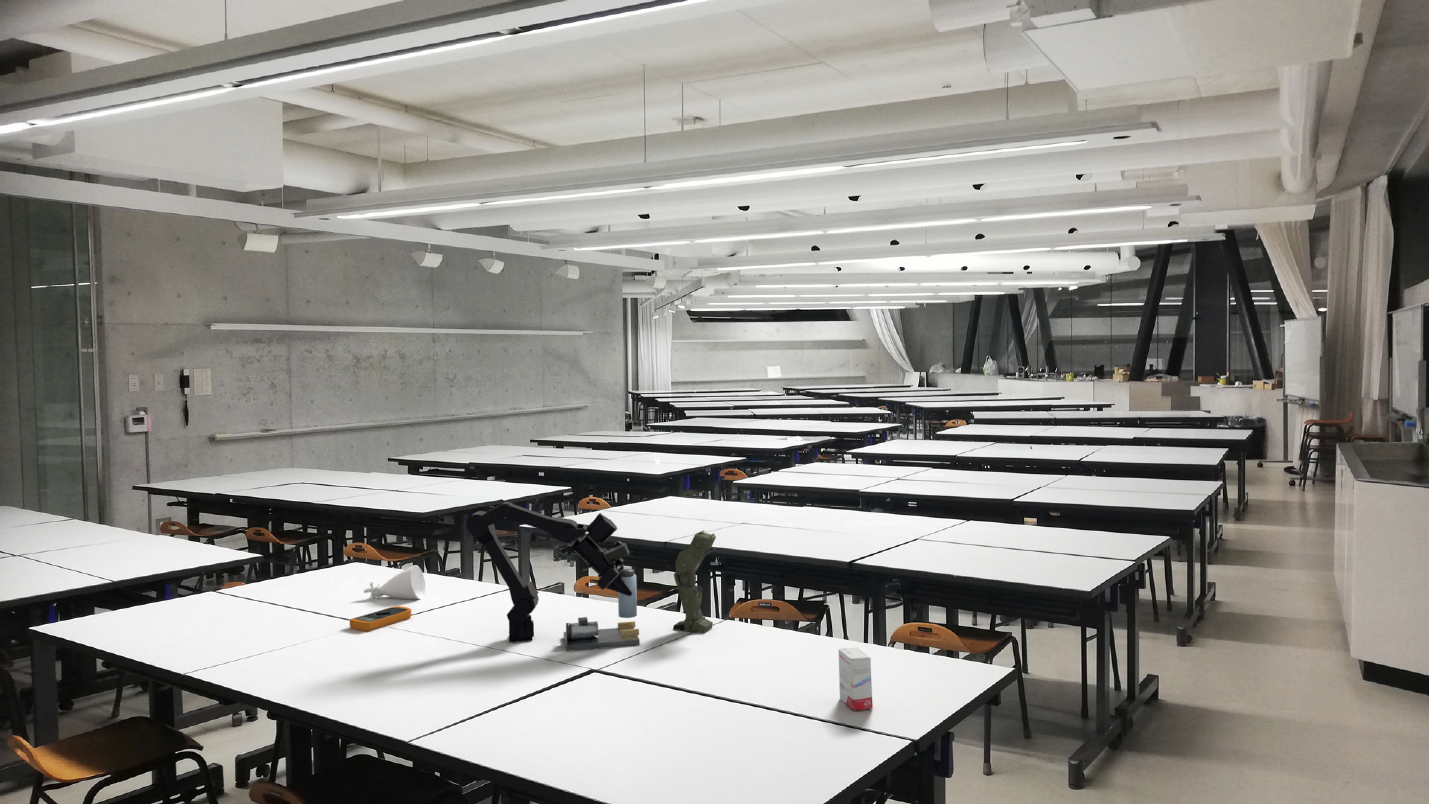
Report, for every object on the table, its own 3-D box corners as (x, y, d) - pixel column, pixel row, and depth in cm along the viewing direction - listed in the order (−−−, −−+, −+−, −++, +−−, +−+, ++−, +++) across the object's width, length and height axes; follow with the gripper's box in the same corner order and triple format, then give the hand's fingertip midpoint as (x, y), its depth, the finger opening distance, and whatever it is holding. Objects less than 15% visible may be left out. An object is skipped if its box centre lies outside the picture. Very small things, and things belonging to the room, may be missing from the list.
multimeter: (415, 618, 290) (414, 607, 290) (367, 633, 274) (366, 622, 274) (396, 615, 294) (395, 604, 294) (347, 629, 279) (347, 618, 278)
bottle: (625, 619, 262) (624, 573, 261) (615, 615, 266) (614, 570, 265) (640, 615, 265) (639, 570, 264) (630, 612, 269) (629, 567, 268)
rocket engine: (360, 571, 313) (411, 559, 313) (376, 586, 322) (426, 574, 322) (357, 602, 306) (410, 589, 305) (373, 616, 315) (424, 604, 315)
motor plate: (566, 651, 253) (566, 625, 253) (563, 637, 266) (563, 613, 266) (641, 644, 258) (640, 619, 257) (634, 631, 270) (634, 607, 270)
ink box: (873, 709, 207) (872, 657, 207) (852, 712, 206) (851, 659, 206) (858, 696, 216) (858, 646, 215) (838, 698, 215) (837, 647, 214)
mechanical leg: (659, 626, 272) (680, 528, 268) (670, 619, 279) (690, 524, 275) (702, 641, 268) (723, 542, 264) (711, 634, 274) (732, 538, 270)
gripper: (609, 540, 255) (649, 580, 255) (615, 528, 273) (653, 565, 274) (580, 569, 255) (621, 608, 256) (589, 555, 274) (627, 592, 274)
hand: (632, 592), depth 265 cm, fingers closed on bottle, 5 cm apart
